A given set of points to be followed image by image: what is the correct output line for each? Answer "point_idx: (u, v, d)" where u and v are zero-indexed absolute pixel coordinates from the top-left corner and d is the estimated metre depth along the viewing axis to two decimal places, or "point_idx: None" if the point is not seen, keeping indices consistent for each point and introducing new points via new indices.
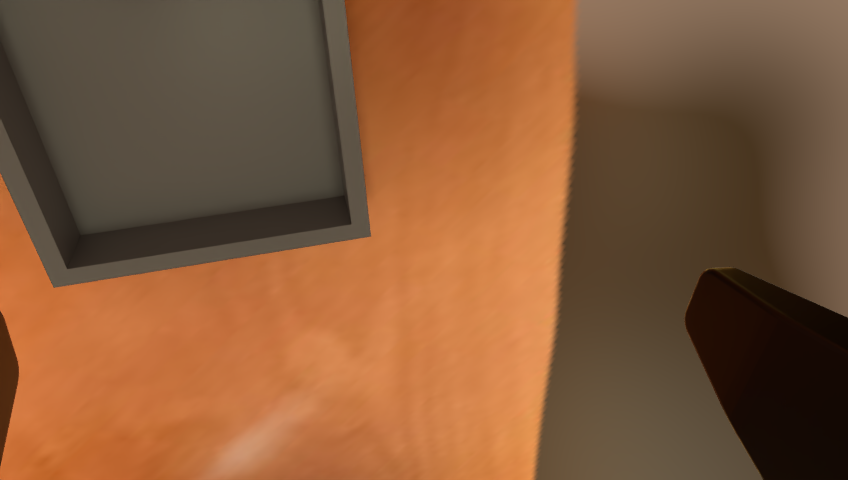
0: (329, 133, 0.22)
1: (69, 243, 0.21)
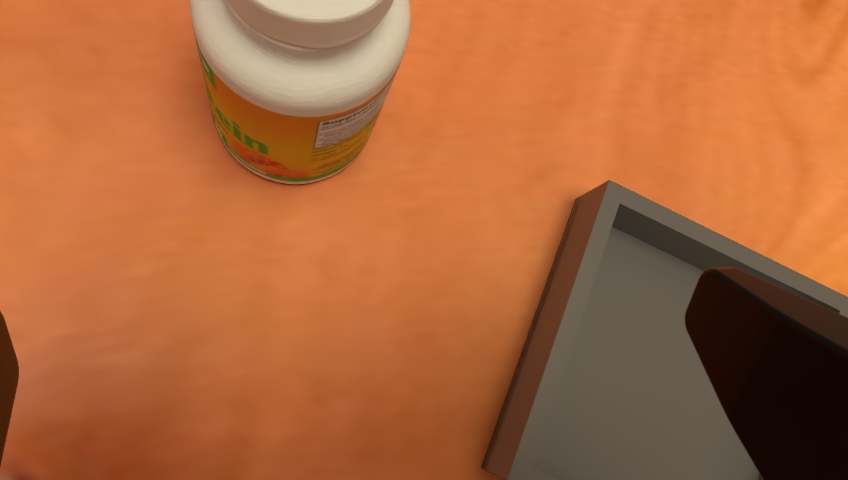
0: None
1: None
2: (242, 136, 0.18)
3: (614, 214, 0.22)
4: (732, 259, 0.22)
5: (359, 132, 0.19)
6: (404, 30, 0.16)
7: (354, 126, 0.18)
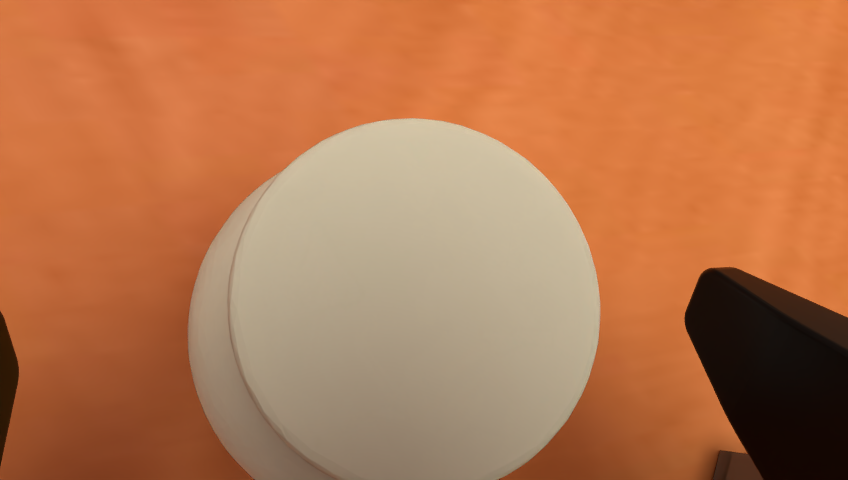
0: None
1: None
2: None
3: None
4: None
5: None
6: None
7: None
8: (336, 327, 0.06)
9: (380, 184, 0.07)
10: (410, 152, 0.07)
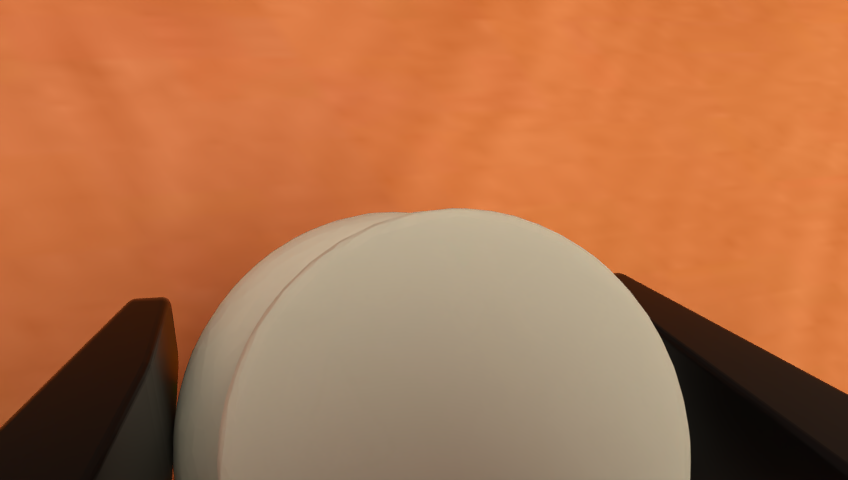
0: None
1: None
2: None
3: None
4: None
5: None
6: None
7: None
8: None
9: (414, 298, 0.05)
10: (451, 254, 0.05)
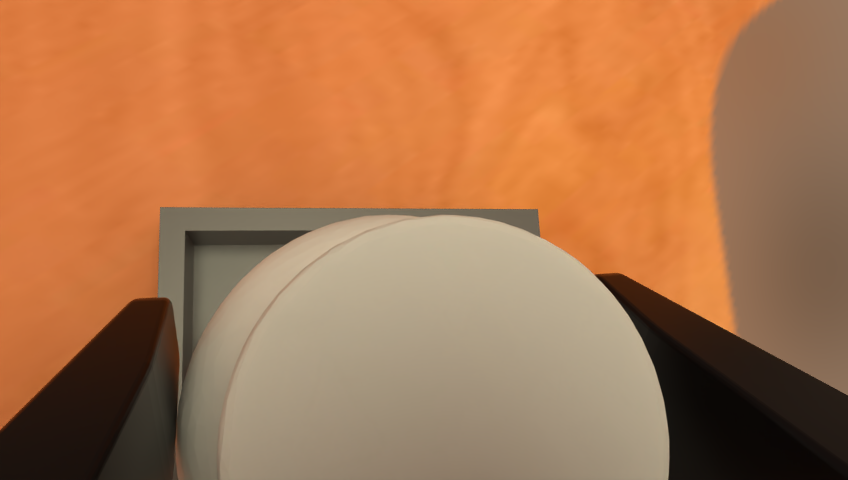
0: None
1: None
2: None
3: (182, 248, 0.16)
4: None
5: None
6: None
7: None
8: None
9: (404, 302, 0.06)
10: (440, 259, 0.06)
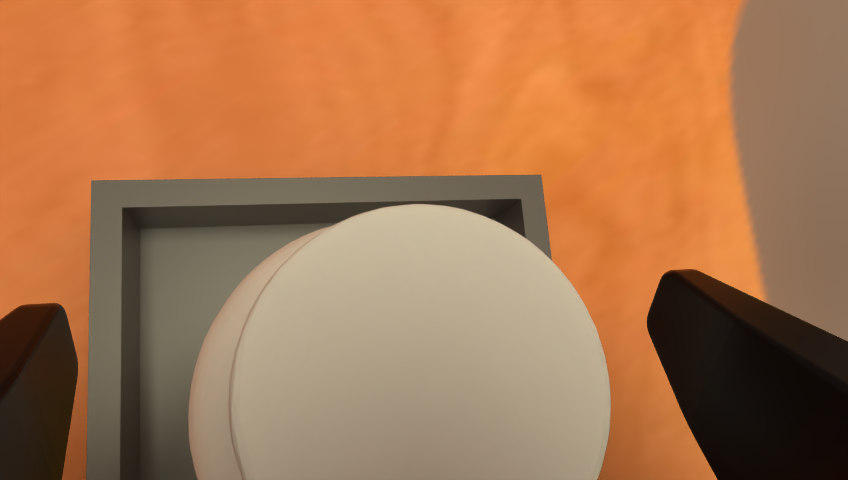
0: None
1: None
2: None
3: (119, 228, 0.14)
4: (338, 203, 0.15)
5: None
6: None
7: None
8: (340, 425, 0.06)
9: (382, 274, 0.07)
10: (412, 239, 0.07)
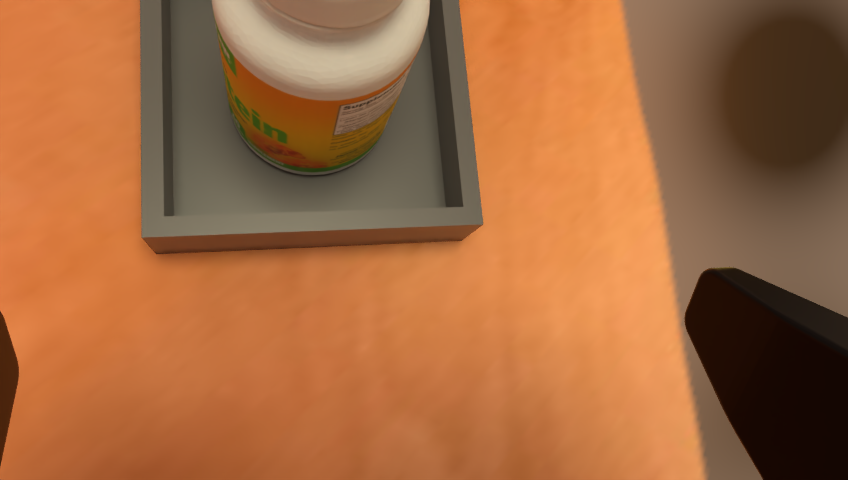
0: (434, 154, 0.23)
1: (168, 210, 0.20)
2: (261, 125, 0.18)
3: None
4: None
5: (378, 119, 0.19)
6: (424, 12, 0.16)
7: (374, 112, 0.18)
8: None
9: None
10: None
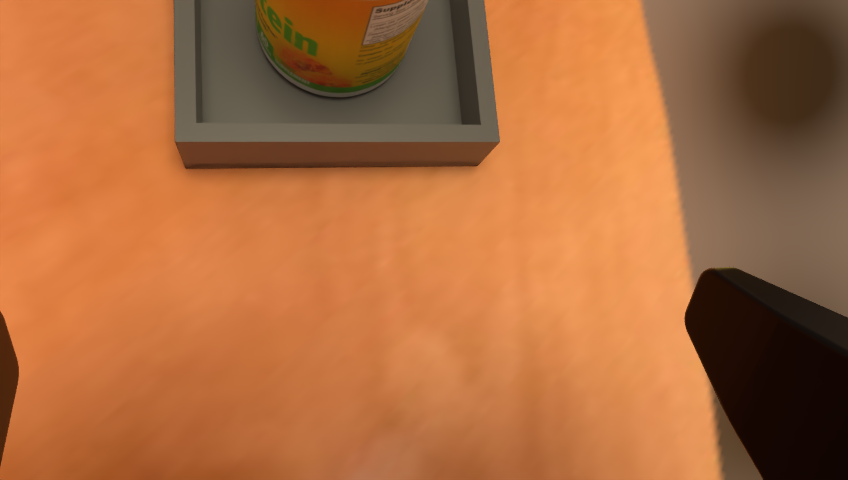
0: (451, 82, 0.24)
1: (198, 122, 0.20)
2: (293, 36, 0.19)
3: None
4: None
5: (403, 32, 0.20)
6: None
7: (401, 21, 0.19)
8: None
9: None
10: None
